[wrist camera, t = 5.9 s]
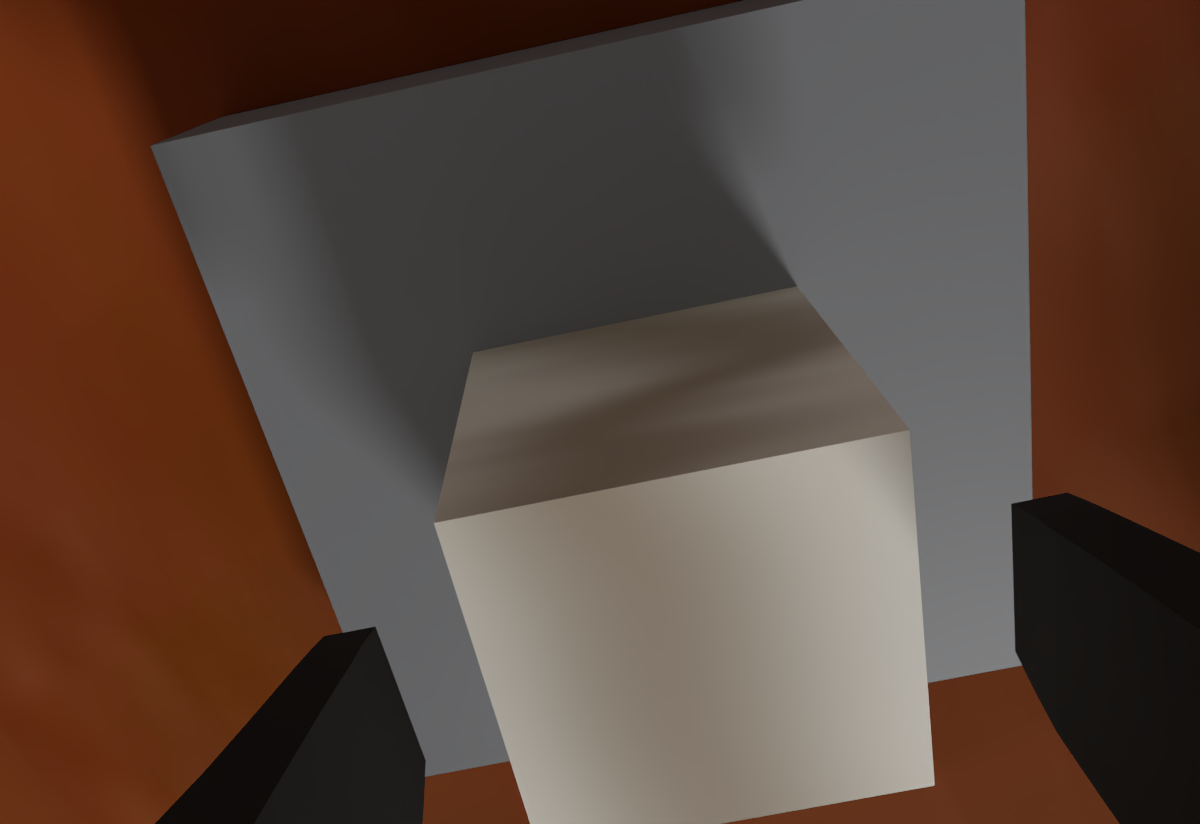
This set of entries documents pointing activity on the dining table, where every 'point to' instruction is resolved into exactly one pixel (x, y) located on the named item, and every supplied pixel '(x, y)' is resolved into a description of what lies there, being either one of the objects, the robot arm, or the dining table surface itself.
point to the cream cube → (691, 567)
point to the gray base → (628, 275)
